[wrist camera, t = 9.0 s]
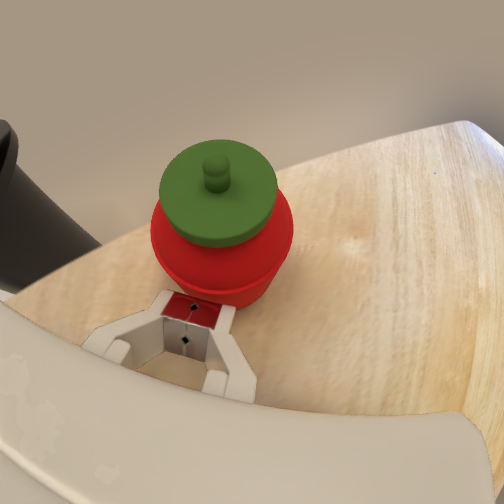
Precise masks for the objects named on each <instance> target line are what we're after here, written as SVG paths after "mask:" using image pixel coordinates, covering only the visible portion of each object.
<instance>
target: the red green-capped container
mask: <svg viewBox="0 0 504 504" xmlns="http://www.w3.org/2000/svg"><path fill="white" fill-rule="evenodd" d="M159 198H160V199H159V201H158V202H157V204H156V207H155V209H154V212H153V216H152V220H151V230H150V231H151V242H152V246H153V250H154V252H155V255H156V257H157V259H158V261H159V263H160V264H161V266H162V267H163V268H164V270H165V271H166V272H167V273H168V274H169V275H170V277H171V278H172V279H173V280H174V281H175V282H176V283H177V284H178V285H179V286H180V287H181V288H182V289H183V290H184V291H185V293H186V294H187V295H189V296H192V297H196V298H199V299H203V300H207V301H211V302H215V303H219V304H225V305H229V306H234V307H236V310H237V309H240V308H243V307H246V306H248V305H250V304H251V303H253V302H254V301H256V300H257V299H258V298H259V297H260V296H261V295H262V294H263V293H264V292H265V291H266V289H267V288H268V286H269V285H270V283H271V281H272V280H273V278H274V276H275V275H276V273H277V272H278V270H279V268H280V267H281V265H282V263H283V262H284V260H285V258H286V256H287V254H288V252H289V250H290V246H291V243H292V238H293V218H292V214H291V210H290V207H289V205H288V202H287V200H286V199H285V197H284V195H283V194H282V192H281V191H280V190H279V188H278V185H277V179H276V175H275V172H274V170H273V168H272V166H271V165H270V163H269V162H268V160H267V159H266V158H265V157H264V156H263V155H262V154H261V153H260V152H258V151H257V150H255V149H253V148H252V147H250V146H248V145H246V144H243V143H240V142H236V141H231V140H210V141H205V142H201V143H198V144H195V145H193V146H191V147H189V148H187V149H185V150H184V151H182V152H181V153H180V154H178V155H177V156H176V157H175V158H174V159H173V160H172V161H171V162H170V164H169V165H168V166H167V168H166V170H165V171H164V174H163V176H162V178H161V182H160V188H159Z"/></svg>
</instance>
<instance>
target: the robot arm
mask: <svg viewBox="0 0 504 504" xmlns="http://www.w3.org/2000/svg"><path fill="white" fill-rule="evenodd" d="M235 310H236V307H234V306H229V305H225V304H219V303H215V302H211V301H207V300H203V299H199V298H196V297H192V296H189V295H186V294H182V293H179V292H175V291H172V290H168V289H165V288H164V289H162V290H161V291H160V293H159V294H158V296H157V297H156V298H155V300H154V301H153V303H152V304H151V306H150V307H149V309H148V310H147V311H145V310H142V311H140V312H137V313H135V314H132V315H129V316H127V317H124V318H121V319H119V320H116V321H113V322H111V323H108V324H106V325H103V326H100V327H97V328H95V329H94V330H93V332H92V333H91V334H90V336H89V337H88V338H87V339H86V341H85V342H84V343H83V344H82V346H81V347H79V346H77V345H75V344H73V343H71V342H69V341H67V340H65V339H63V338H61V337H59V336H57V335H55V334H54V333H52V332H50V331H48V330H46V329H45V328H43V327H41V326H39V325H38V324H36V323H34V322H33V321H31V320H29V319H28V318H26V317H24V316H23V315H21V314H20V313H18V312H17V311H15V310H13V309H12V308H10V307H9V306H7V305H6V304H5V303H3V302H2V301H0V504H496V500H495V489H494V481H493V474H492V469H491V464H490V459H489V455H488V451H487V447H486V443H485V440H484V437H483V435H482V433H481V431H480V429H479V428H478V427H477V426H476V425H475V424H474V423H473V422H472V421H471V420H470V419H469V418H467V417H466V416H465V415H464V414H463V413H461V412H460V411H445V412H436V413H426V414H411V415H342V414H327V413H315V412H306V411H297V410H289V409H282V408H276V407H269V406H263V405H258V404H254V400H255V392H256V385H257V377H256V375H255V373H254V372H253V370H252V368H251V367H250V365H249V363H248V361H247V360H246V358H245V356H244V355H243V353H242V351H241V349H240V348H239V346H238V344H237V342H236V340H235V339H234V337H233V335H231V334H230V332H231V328H232V323H233V319H234V314H235ZM164 351H168V352H171V353H175V354H178V355H182V356H185V357H189V358H192V359H195V360H198V361H202V362H205V365H206V368H207V371H208V372H207V375H206V378H205V381H204V384H203V387H202V390H201V392H200V391H196V390H193V389H189V388H186V387H182V386H179V385H176V384H173V383H169V382H166V381H163V380H160V379H157V378H154V377H151V376H148V375H146V374H143V373H140V372H137V371H135V369H137V368H139V367H140V366H142V365H143V364H145V363H147V362H148V361H150V360H151V359H153V358H154V357H156V356H158V355H159V354H161V353H162V352H164Z"/></svg>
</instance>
